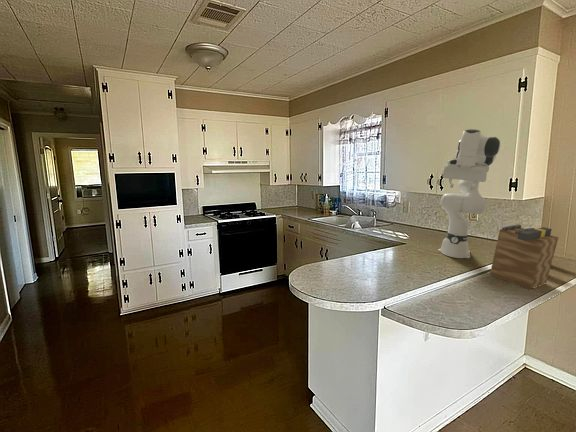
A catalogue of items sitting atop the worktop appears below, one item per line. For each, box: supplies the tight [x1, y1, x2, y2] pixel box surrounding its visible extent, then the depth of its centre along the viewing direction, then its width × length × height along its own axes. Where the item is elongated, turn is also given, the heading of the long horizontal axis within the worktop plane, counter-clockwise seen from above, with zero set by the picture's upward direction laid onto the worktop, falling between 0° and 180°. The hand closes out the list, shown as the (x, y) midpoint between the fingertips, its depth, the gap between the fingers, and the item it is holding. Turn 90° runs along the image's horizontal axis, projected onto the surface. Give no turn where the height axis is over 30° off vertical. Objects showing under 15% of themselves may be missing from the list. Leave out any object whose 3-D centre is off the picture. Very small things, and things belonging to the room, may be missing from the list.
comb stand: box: [489, 224, 559, 290], centre depth 170 cm, size 16×20×28 cm
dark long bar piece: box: [518, 226, 553, 241], centre depth 160 cm, size 24×4×4 cm, turn 119°
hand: (461, 188), depth 169 cm, fingers open, 8 cm apart
